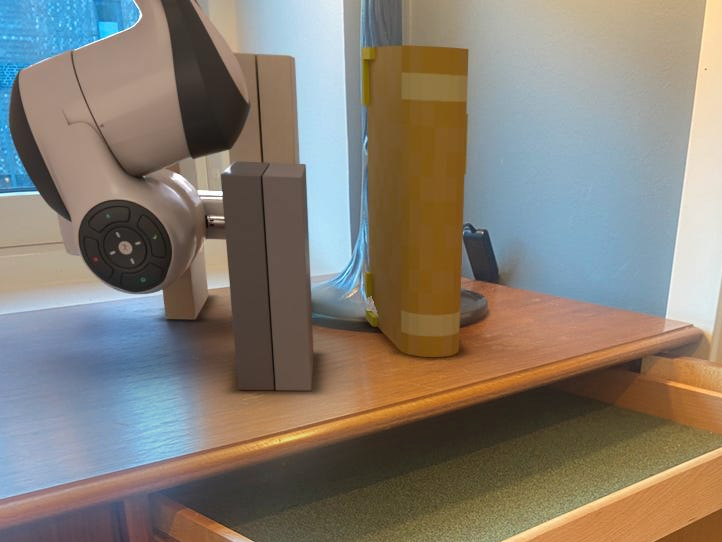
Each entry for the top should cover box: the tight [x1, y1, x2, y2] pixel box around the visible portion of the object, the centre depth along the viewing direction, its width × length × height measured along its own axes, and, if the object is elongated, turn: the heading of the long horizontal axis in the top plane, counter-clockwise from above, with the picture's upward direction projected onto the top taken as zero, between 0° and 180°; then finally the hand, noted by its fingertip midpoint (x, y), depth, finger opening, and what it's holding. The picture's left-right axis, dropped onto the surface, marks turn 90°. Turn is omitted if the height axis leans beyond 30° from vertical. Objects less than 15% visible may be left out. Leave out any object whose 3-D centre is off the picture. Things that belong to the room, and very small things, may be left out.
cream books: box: [228, 51, 301, 166], centre depth 100 cm, size 6×14×24 cm, turn 8°
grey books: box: [220, 161, 315, 392], centre depth 80 cm, size 6×12×16 cm, turn 8°
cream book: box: [161, 158, 209, 320], centre depth 99 cm, size 3×12×20 cm, turn 8°
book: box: [360, 44, 470, 358], centre depth 91 cm, size 17×7×25 cm, turn 17°
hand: (177, 203), depth 100 cm, fingers open, 7 cm apart
